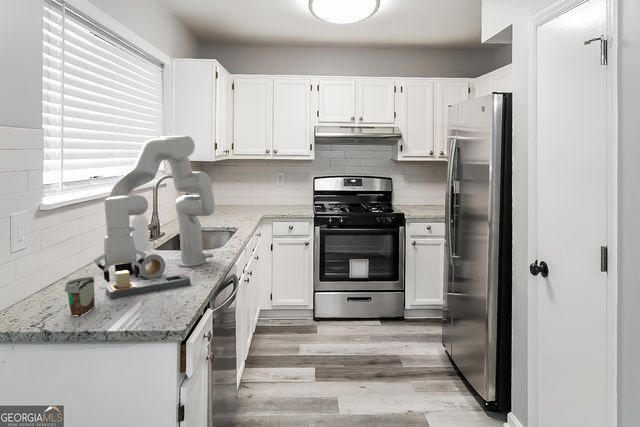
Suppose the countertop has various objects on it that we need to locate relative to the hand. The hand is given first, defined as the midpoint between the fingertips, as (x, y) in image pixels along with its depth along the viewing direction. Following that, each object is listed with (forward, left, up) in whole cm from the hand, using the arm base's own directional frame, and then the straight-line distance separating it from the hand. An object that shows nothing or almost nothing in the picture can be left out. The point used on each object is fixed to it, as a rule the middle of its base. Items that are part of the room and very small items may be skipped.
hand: (122, 279), depth 165 cm
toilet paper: (-14, -20, -6) cm, 25 cm away
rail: (-9, 0, -5) cm, 10 cm away
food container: (+16, +13, -6) cm, 21 cm away
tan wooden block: (0, 0, -5) cm, 5 cm away
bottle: (-19, -53, -6) cm, 57 cm away
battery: (-7, -31, -6) cm, 32 cm away
